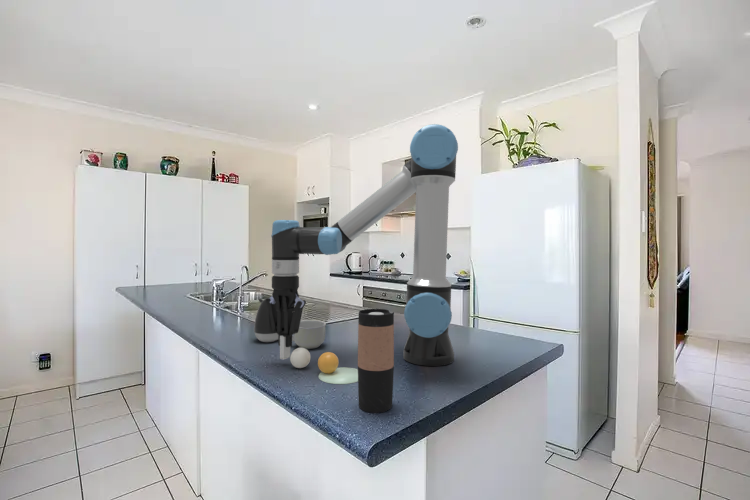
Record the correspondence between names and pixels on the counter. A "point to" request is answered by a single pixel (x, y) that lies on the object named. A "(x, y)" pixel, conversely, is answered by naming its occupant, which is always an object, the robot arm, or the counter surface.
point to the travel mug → (375, 359)
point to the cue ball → (300, 357)
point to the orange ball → (328, 362)
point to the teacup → (310, 334)
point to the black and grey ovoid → (264, 324)
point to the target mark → (340, 376)
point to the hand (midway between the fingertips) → (285, 357)
